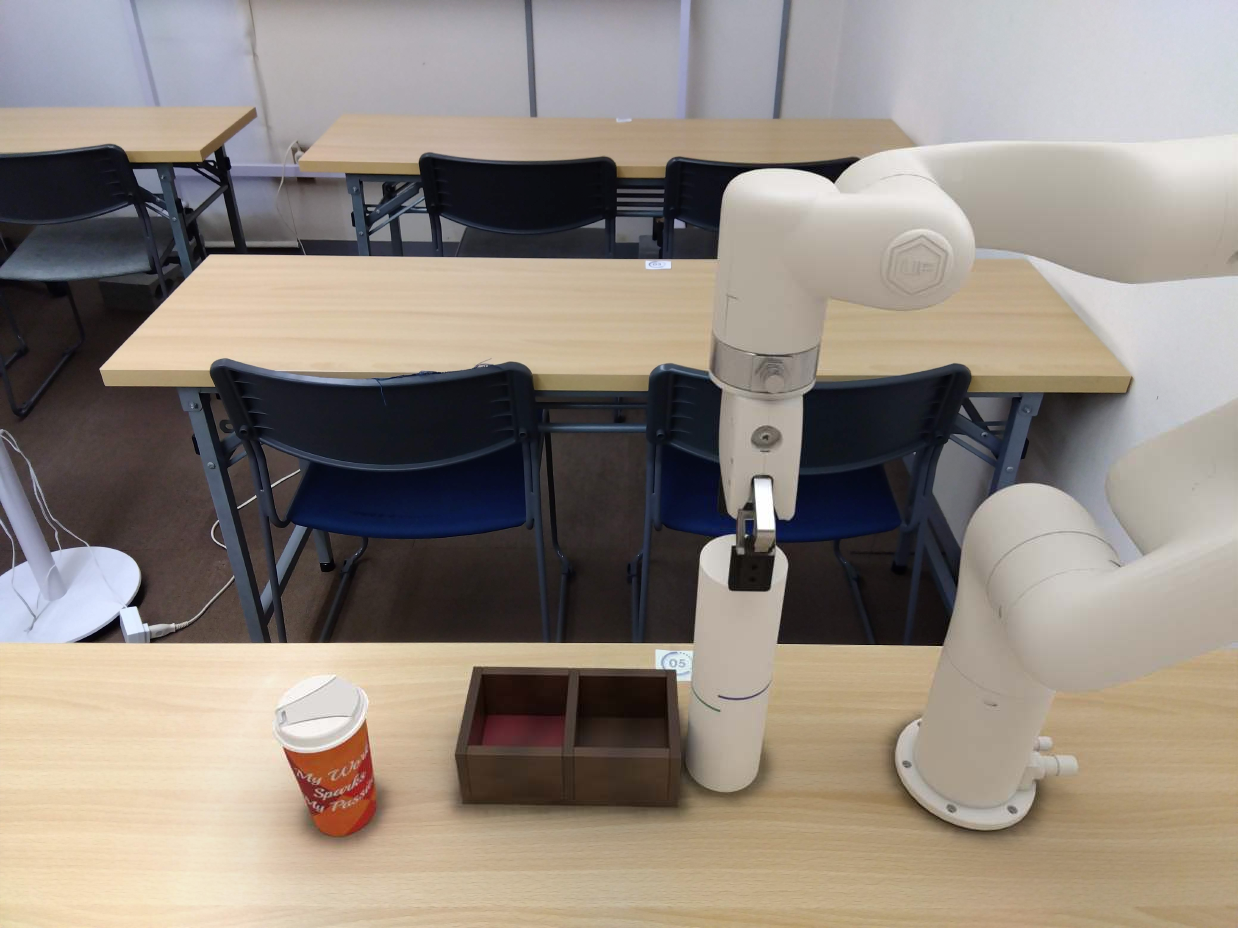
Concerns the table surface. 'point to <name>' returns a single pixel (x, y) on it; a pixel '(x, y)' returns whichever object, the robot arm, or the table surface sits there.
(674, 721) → the wooden compartment box
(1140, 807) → the table surface
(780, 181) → the robot arm
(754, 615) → the cylindrical container
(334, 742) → the paper cup
